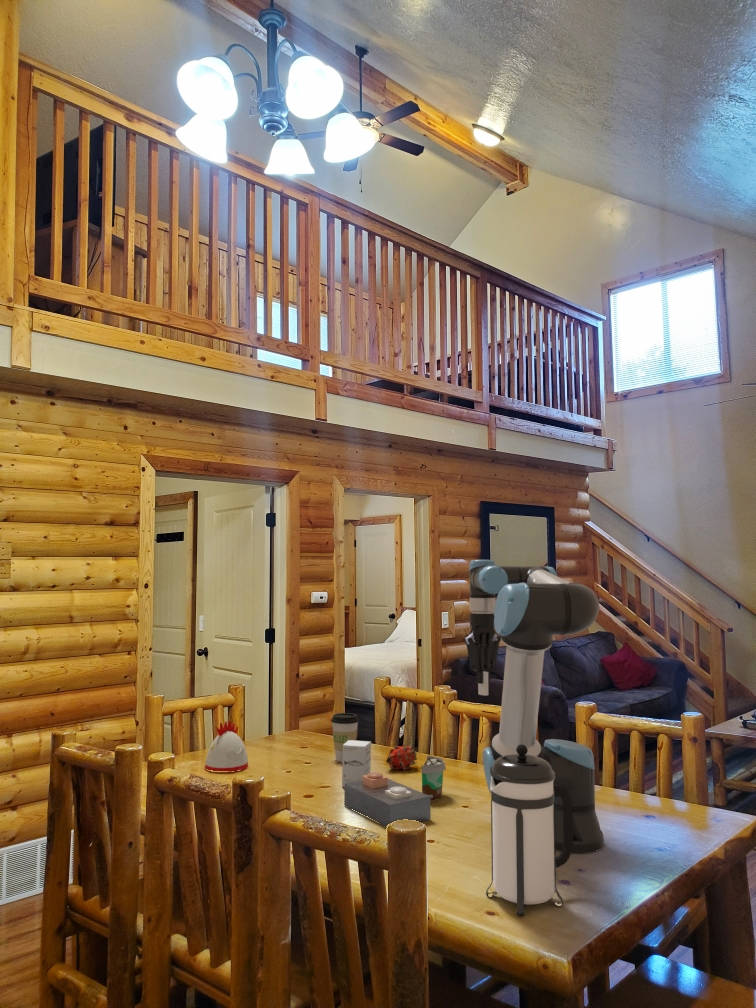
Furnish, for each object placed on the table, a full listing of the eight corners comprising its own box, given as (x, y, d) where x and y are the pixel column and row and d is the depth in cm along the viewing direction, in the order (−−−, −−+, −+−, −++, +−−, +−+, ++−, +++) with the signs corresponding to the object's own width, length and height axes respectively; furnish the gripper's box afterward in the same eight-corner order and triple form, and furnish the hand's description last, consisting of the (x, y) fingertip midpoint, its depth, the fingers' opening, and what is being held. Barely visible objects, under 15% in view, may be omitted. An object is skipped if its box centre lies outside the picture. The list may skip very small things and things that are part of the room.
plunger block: (430, 819, 189) (430, 796, 189) (389, 829, 182) (390, 804, 182) (382, 798, 207) (383, 776, 208) (344, 806, 200) (344, 783, 200)
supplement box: (341, 787, 217) (341, 744, 218) (348, 781, 224) (348, 739, 225) (365, 789, 215) (365, 746, 216) (371, 782, 222) (371, 740, 224)
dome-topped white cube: (411, 815, 189) (411, 789, 190) (395, 819, 186) (395, 792, 187) (400, 810, 193) (400, 785, 194) (384, 814, 190) (385, 788, 191)
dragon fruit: (419, 772, 240) (389, 782, 234) (406, 752, 246) (376, 762, 240) (425, 754, 236) (395, 765, 230) (412, 735, 242) (382, 744, 236)
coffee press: (563, 925, 132) (560, 757, 135) (478, 910, 138) (476, 749, 141) (574, 887, 148) (571, 737, 151) (497, 875, 154) (495, 731, 157)
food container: (443, 803, 202) (443, 767, 203) (421, 802, 203) (421, 765, 204) (447, 791, 214) (447, 756, 215) (427, 789, 215) (427, 755, 216)
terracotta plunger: (387, 799, 198) (387, 775, 199) (372, 802, 196) (372, 777, 196) (377, 795, 202) (377, 771, 203) (362, 798, 200) (362, 773, 200)
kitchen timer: (197, 766, 240) (199, 720, 241) (233, 759, 249) (234, 715, 251) (219, 775, 230) (220, 727, 231) (255, 768, 239) (256, 721, 240)
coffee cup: (327, 757, 253) (328, 713, 255) (354, 755, 256) (354, 712, 258) (334, 764, 244) (334, 718, 245) (362, 762, 247) (362, 717, 248)
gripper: (490, 611, 218) (491, 691, 216) (457, 612, 211) (457, 694, 208) (507, 612, 212) (508, 694, 209) (474, 613, 204) (475, 698, 202)
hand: (483, 694), depth 209 cm, fingers closed
